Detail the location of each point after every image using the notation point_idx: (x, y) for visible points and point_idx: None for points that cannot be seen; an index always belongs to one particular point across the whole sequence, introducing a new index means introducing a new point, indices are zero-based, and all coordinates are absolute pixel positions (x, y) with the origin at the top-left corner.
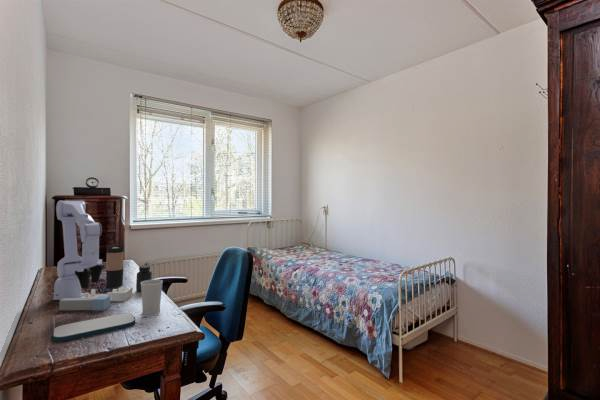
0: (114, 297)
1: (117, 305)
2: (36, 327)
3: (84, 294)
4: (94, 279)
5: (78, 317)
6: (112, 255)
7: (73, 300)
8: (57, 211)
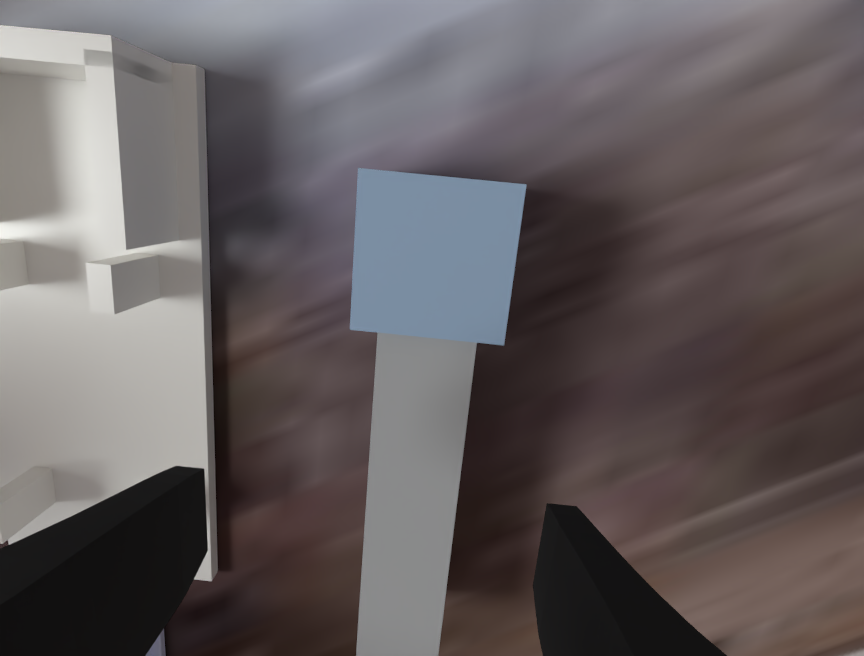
0: (163, 202)
1: (361, 93)
2: (834, 574)
3: None
4: (169, 562)
5: (680, 358)
6: None
7: (450, 552)
8: None
